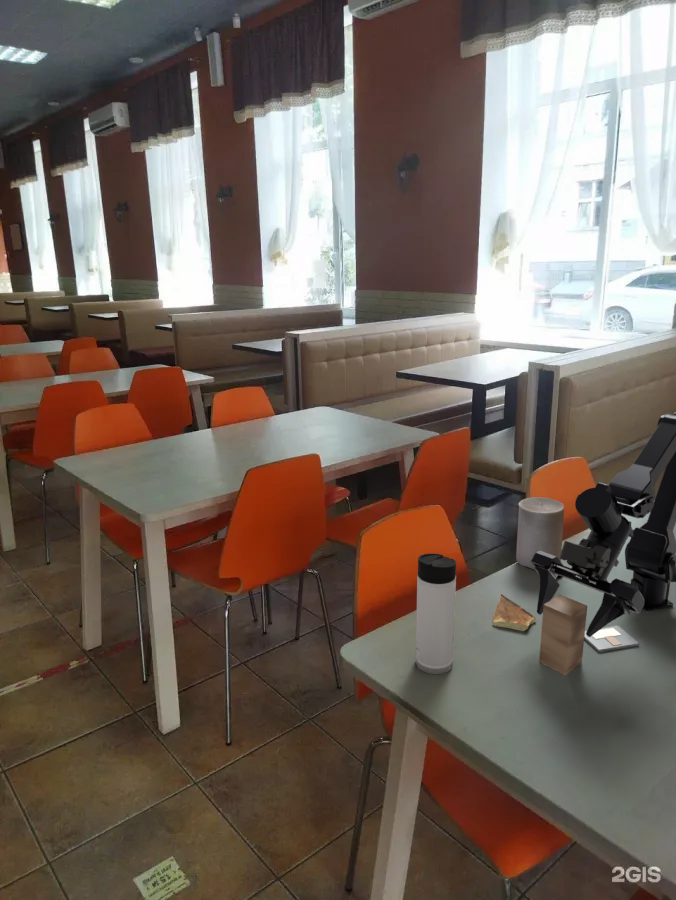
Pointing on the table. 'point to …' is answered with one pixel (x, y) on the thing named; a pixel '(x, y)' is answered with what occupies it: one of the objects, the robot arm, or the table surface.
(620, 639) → the card
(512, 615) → the shard
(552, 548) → the pillar candle
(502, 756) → the table surface
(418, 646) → the travel mug
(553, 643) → the walnut block
